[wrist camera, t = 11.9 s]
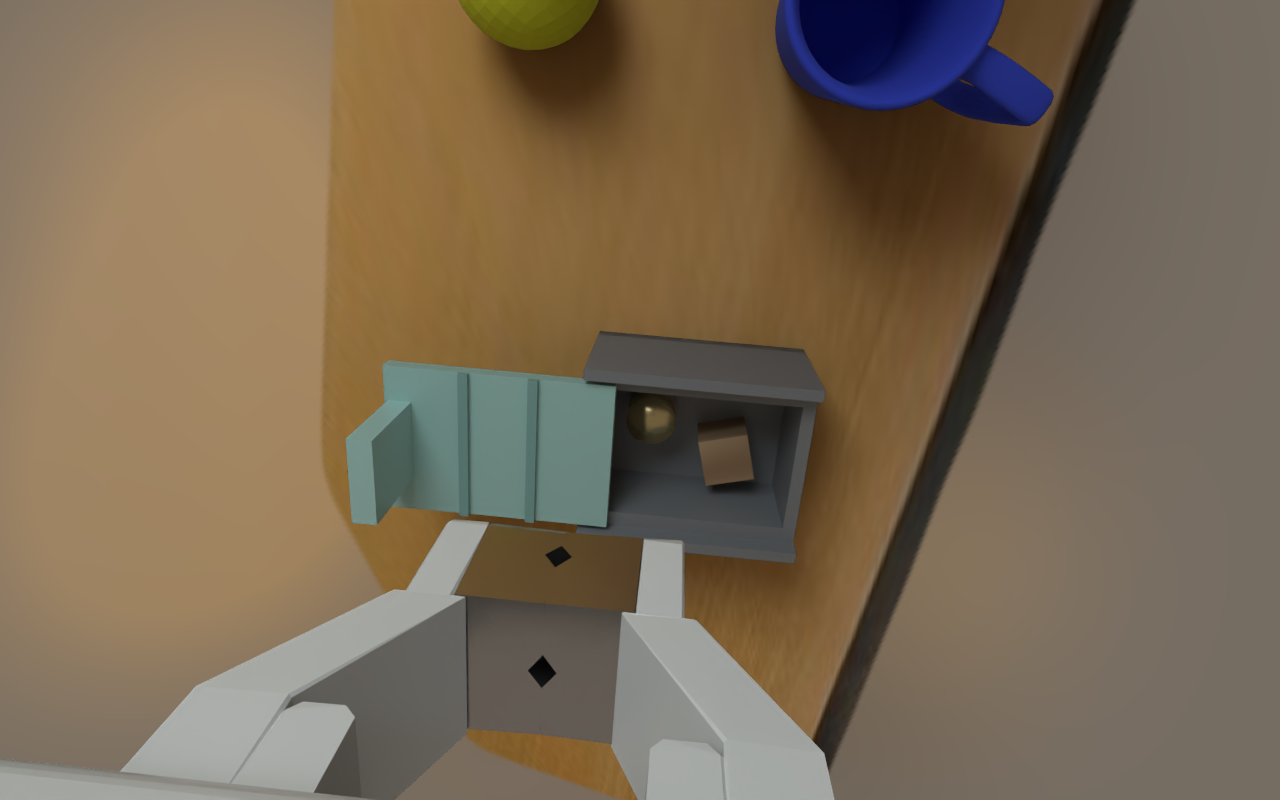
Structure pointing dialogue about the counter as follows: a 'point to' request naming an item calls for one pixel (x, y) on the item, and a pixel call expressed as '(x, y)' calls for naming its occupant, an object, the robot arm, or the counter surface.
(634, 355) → the grey box
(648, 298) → the counter surface
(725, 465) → the wood part
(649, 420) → the brass part
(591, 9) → the pear
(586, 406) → the lid
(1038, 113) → the mug
